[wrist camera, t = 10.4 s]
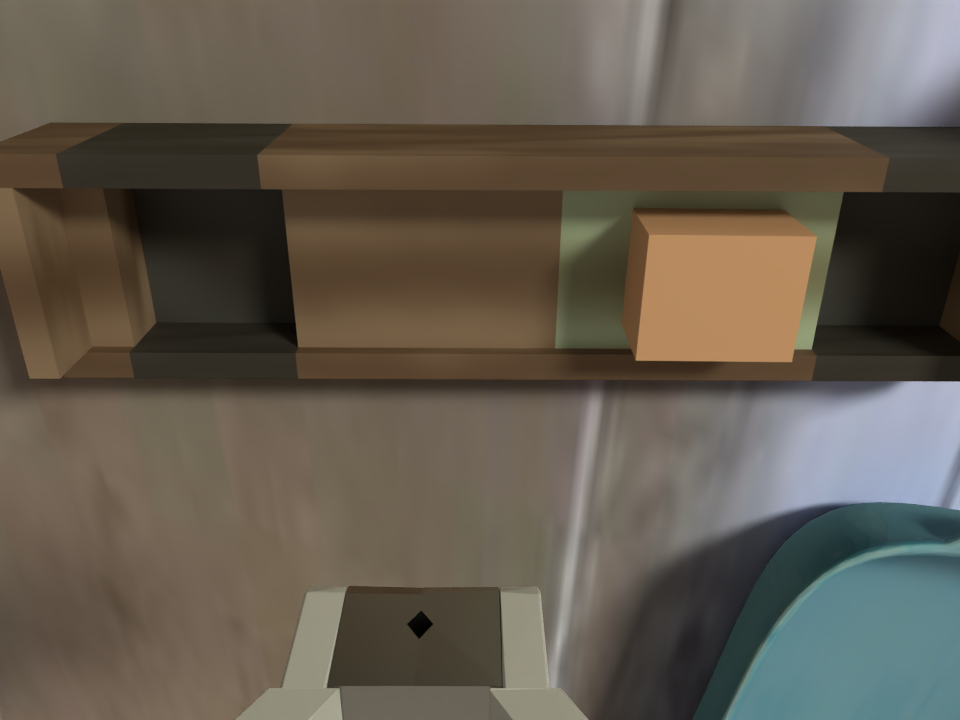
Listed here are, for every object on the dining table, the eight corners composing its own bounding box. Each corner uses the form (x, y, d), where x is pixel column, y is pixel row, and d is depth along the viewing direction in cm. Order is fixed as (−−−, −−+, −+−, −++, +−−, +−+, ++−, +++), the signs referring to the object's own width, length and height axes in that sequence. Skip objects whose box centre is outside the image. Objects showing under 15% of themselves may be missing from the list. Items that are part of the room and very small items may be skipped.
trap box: (50, 122, 34) (-31, 153, 28) (1017, 127, 34) (1119, 159, 28) (99, 342, 38) (36, 405, 33) (954, 345, 38) (1032, 409, 33)
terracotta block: (632, 207, 32) (649, 234, 29) (784, 209, 32) (816, 236, 29) (621, 324, 34) (635, 360, 31) (763, 325, 34) (791, 362, 31)
